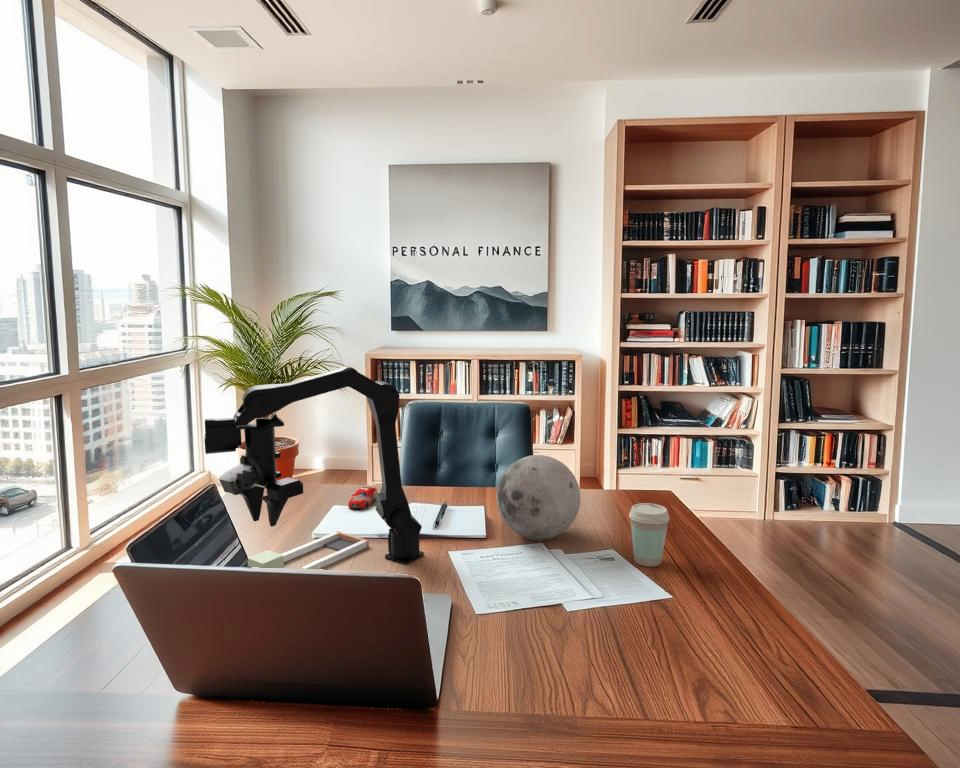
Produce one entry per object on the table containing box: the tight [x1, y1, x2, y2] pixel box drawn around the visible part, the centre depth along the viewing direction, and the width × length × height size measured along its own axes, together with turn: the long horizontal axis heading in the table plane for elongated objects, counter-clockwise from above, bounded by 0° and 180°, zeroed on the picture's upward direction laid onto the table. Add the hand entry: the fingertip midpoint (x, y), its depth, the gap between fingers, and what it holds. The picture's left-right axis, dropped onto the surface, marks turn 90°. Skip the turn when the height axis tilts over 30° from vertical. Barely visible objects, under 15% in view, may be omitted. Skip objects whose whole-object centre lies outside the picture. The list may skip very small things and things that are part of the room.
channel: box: [280, 531, 367, 570], centre depth 145 cm, size 10×18×2 cm, turn 145°
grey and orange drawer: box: [322, 531, 370, 552], centre depth 150 cm, size 10×6×2 cm, turn 55°
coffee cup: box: [628, 502, 670, 567], centre depth 140 cm, size 8×8×12 cm
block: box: [246, 549, 285, 569], centre depth 133 cm, size 5×5×5 cm
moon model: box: [496, 454, 581, 541], centre depth 154 cm, size 20×20×20 cm
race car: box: [347, 486, 378, 510], centre depth 181 cm, size 13×5×4 cm, turn 169°
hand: (264, 523), depth 131 cm, fingers open, 5 cm apart
